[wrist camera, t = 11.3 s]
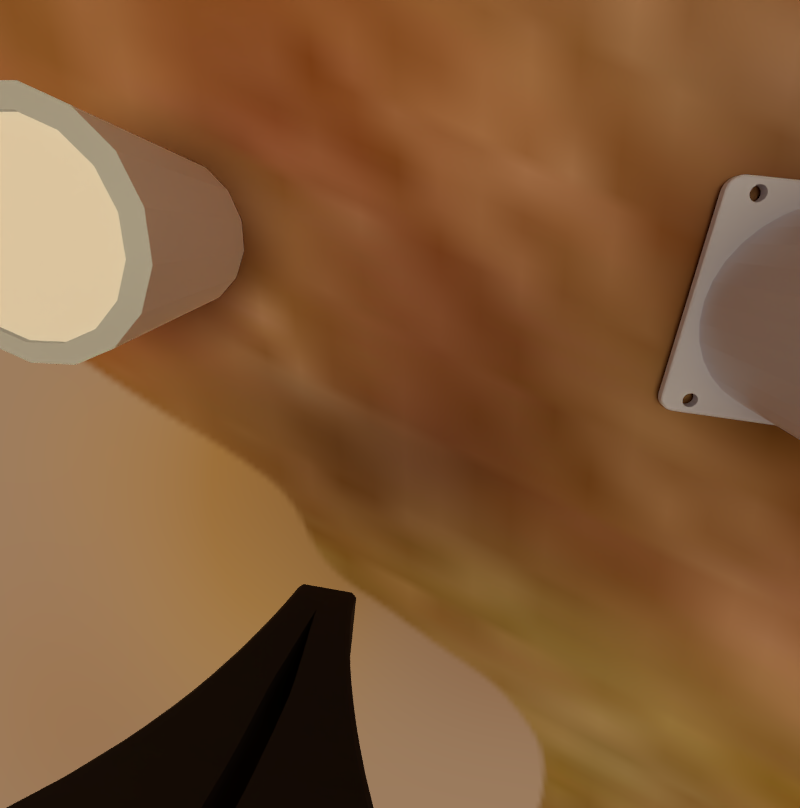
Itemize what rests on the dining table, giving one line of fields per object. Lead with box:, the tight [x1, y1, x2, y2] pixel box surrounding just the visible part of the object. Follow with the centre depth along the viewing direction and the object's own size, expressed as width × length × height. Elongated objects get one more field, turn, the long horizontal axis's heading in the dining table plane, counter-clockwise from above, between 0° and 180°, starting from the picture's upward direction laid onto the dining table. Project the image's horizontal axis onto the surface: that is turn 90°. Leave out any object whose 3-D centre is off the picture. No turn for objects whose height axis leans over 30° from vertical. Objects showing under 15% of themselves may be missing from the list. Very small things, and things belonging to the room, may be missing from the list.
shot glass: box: [0, 80, 244, 365], centre depth 16 cm, size 7×7×7 cm
